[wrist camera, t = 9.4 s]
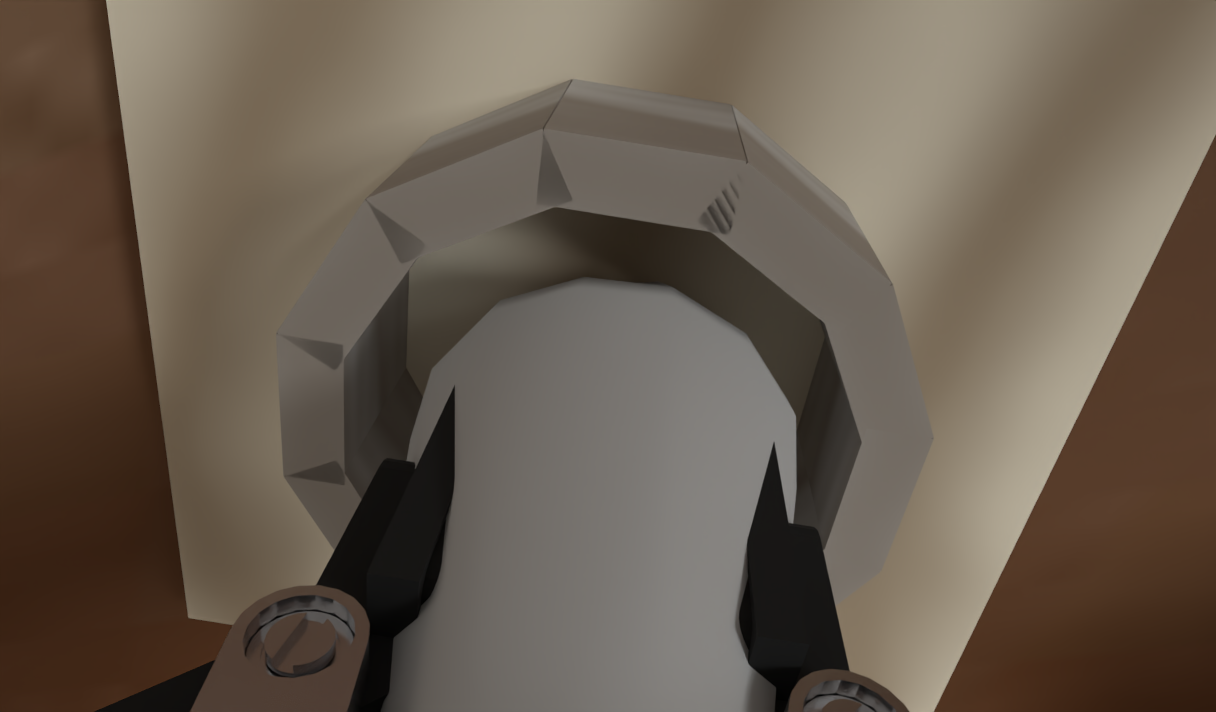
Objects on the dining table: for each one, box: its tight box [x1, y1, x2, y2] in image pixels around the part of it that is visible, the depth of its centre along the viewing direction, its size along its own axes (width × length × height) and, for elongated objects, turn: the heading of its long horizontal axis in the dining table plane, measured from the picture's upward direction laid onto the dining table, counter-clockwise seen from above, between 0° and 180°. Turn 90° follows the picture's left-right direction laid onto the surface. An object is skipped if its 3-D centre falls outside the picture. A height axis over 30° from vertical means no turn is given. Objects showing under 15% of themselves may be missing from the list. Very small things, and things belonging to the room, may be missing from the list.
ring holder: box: [106, 0, 1216, 712], centre depth 15 cm, size 18×18×4 cm
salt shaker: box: [380, 277, 797, 712], centre depth 9 cm, size 6×6×13 cm
